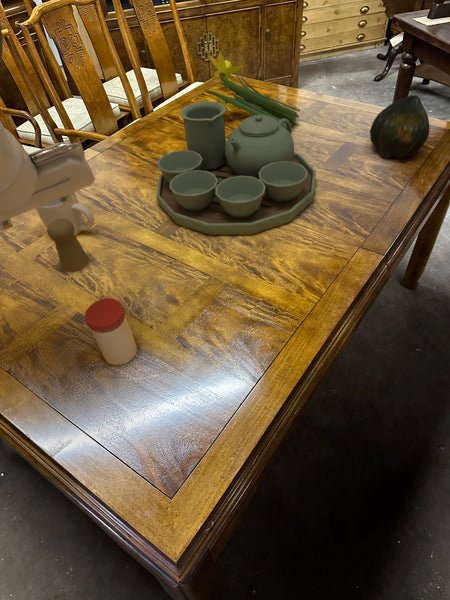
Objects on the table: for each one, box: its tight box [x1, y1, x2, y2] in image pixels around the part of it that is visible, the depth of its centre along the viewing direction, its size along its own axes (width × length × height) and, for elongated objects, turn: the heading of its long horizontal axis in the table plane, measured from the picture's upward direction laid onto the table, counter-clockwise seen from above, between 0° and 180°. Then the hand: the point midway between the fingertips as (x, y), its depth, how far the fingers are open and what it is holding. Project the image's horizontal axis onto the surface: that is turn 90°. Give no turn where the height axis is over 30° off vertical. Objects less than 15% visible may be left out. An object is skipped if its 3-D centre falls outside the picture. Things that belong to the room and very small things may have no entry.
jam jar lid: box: [84, 297, 127, 333], centre depth 66 cm, size 6×6×2 cm
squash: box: [369, 94, 430, 159], centre depth 111 cm, size 14×15×15 cm
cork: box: [46, 219, 90, 273], centre depth 87 cm, size 6×6×11 cm
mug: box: [35, 192, 95, 236], centre depth 96 cm, size 13×9×10 cm
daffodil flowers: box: [204, 50, 301, 130], centre depth 131 cm, size 17×15×35 cm
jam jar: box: [90, 315, 138, 366], centre depth 70 cm, size 6×6×10 cm
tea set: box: [156, 101, 317, 236], centre depth 101 cm, size 40×40×16 cm
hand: (37, 211), depth 63 cm, fingers open, 8 cm apart
